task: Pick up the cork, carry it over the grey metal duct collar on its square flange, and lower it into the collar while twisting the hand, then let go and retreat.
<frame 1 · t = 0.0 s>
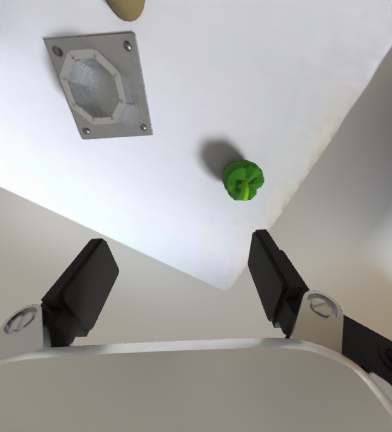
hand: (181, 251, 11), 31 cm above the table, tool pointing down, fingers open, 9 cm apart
duct collar: (106, 93, 31), on the table
bell pepper: (235, 172, 40), on the table
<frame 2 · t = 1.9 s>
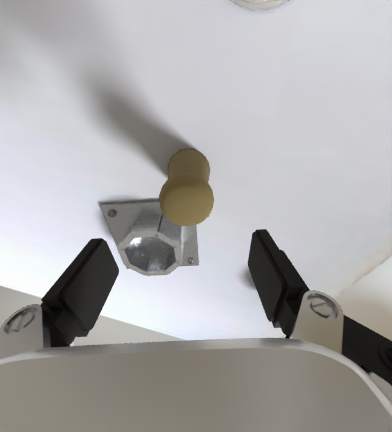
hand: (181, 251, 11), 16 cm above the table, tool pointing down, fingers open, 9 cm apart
duct collar: (156, 237, 30), on the table
cork: (189, 170, 24), on the table
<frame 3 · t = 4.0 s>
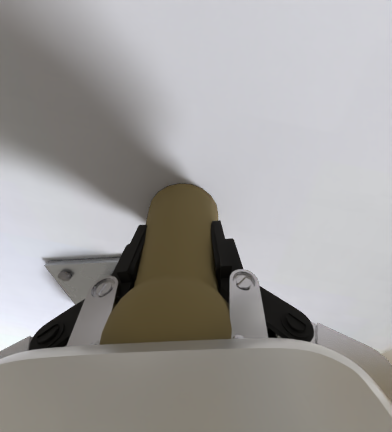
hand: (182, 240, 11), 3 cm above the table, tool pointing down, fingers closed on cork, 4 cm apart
duct collar: (138, 299, 21), on the table
cork: (183, 215, 14), on the table, touching gripper
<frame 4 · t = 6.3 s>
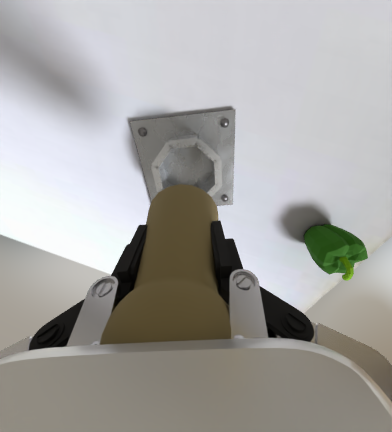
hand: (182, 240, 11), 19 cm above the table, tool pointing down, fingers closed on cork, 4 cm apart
duct collar: (188, 167, 27), on the table
cork: (183, 215, 14), point 15 cm above the table, touching gripper
bell pepper: (315, 233, 36), on the table
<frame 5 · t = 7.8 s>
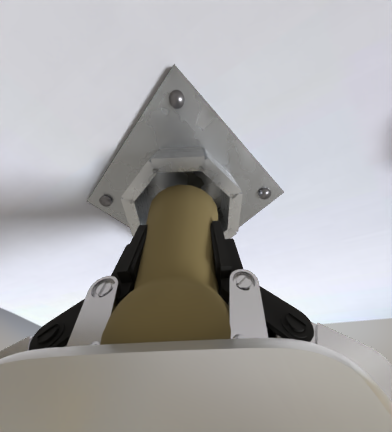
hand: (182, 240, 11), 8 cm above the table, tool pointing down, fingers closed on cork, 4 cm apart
duct collar: (185, 194, 18), on the table
cork: (183, 216, 14), point 4 cm above the table, touching gripper
when the fingers open (5 cm above the table, at t = 9.0 s): cork drops 1 cm, resting on duct collar.
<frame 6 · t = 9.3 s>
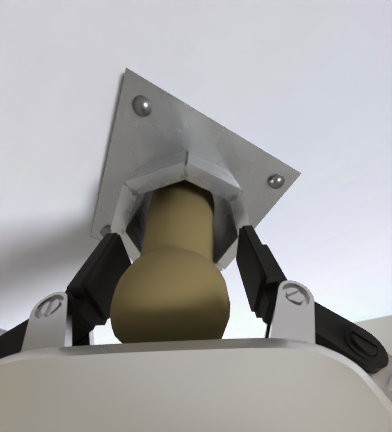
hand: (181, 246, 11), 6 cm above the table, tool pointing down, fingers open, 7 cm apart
duct collar: (185, 205, 16), on the table
cork: (182, 205, 16), resting on duct collar
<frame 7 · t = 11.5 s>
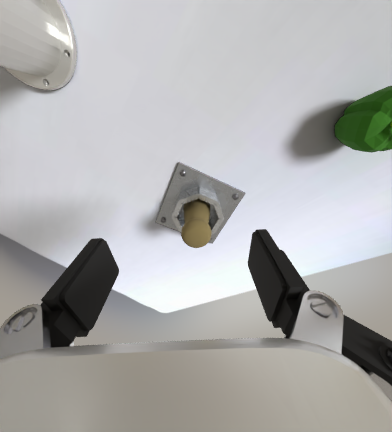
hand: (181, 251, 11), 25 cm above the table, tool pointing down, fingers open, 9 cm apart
duct collar: (197, 207, 37), on the table
cork: (196, 207, 36), resting on duct collar
bell pepper: (350, 122, 28), on the table
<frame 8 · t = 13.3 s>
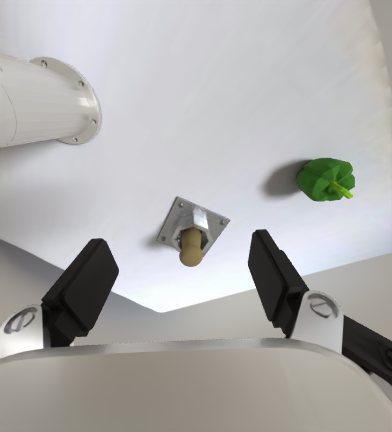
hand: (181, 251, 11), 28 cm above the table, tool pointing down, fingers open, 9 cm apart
duct collar: (192, 229, 45), on the table
cork: (191, 230, 44), resting on duct collar
bell pepper: (308, 173, 37), on the table
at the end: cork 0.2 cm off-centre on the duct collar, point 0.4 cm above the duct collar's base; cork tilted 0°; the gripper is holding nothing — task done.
